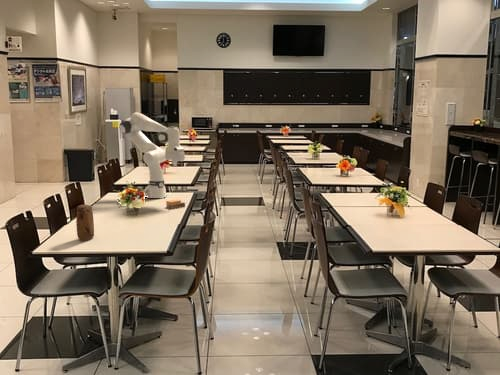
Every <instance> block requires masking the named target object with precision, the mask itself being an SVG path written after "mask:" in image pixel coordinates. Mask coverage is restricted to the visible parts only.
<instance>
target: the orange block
mask: <svg viewBox="0 0 500 375" xmlns="http://www.w3.org/2000/svg"><path fill="white" fill-rule="evenodd" d="M165 203H166V206H165V207H166V208H167V207H168V209H169V205H172V204H177V203H182V200H181V199H177V198H175V199H170V200H166V201H165Z"/></svg>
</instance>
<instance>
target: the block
mask: <svg viewBox="0 0 500 375" xmlns="http://www.w3.org/2000/svg"><path fill="white" fill-rule="evenodd" d="M76 208H77V209H76V216H75V218H76V234H77V238H78V240H79V241H80V242H86V241H87V242H88V241H90V240H92V239H93V238H94V236H95V224H94V212H93V206H92V205H91V204H89V205H88V204H80V205H78V206H77V207H76Z"/></svg>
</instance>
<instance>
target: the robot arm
mask: <svg viewBox="0 0 500 375" xmlns="http://www.w3.org/2000/svg"><path fill="white" fill-rule="evenodd" d="M119 130H120V131H121V132H122V133H123V134H125V135H127V134H128V137H129V138H130V139H129V140H130V141H131V142H132V143H133V144H134V146H136V147H137V149H138V150H139V151H140V152H141V153H144V154H143V156H142V159H143V162H144V163H145V164H146V165H147V167H148V171H149V180H148V185H147V186H146V187H145V188H144V190H143V193H144V192H145V195H146V196H148V197H147V198H161V199H165V198H164V197H166V198H167V196H166V194H167V189H166V186H165V178H164V177H165V176H164V169H162V167H161V165H160V164H161V163H164V162H166V161H167V160H170V161H171V164H172V166H173V167H177V166H178V161H179V162H184V161H185V159H186V158H185V156H186V154H185V147H183V146H181V143H180V139H181V135H180V130H179V127H177V126H171V125H170V126H168V127H167V126H165V125H163V124H162V123H159V122H157V121H155V120H153V119H151V118H150V117H148V116H146V115H145V114H143V113H140V112H133V113H132V114H131V115H130V117H128V118H126V119H124V120H122V121H121V122H120V123H119ZM142 131H144V132H156V133H158V134H157V140H158V142H159V143H160V144H167V145H168V147H166V148H165V149H163V148H161V147H159V146H158V145H156V144H155V143H153V142H152V140H150V139H149V138H148V137H147V136H146V135H145V134H144V133H143V132H142ZM147 198H146V199H147Z"/></svg>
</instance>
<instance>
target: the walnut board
mask: <svg viewBox="0 0 500 375" xmlns="http://www.w3.org/2000/svg"><path fill="white" fill-rule="evenodd" d="M180 207H181V208H185V207H186V202H181V203H177V204H172V205H169V208H168V209H170V210H175V208H176V209H180Z"/></svg>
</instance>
